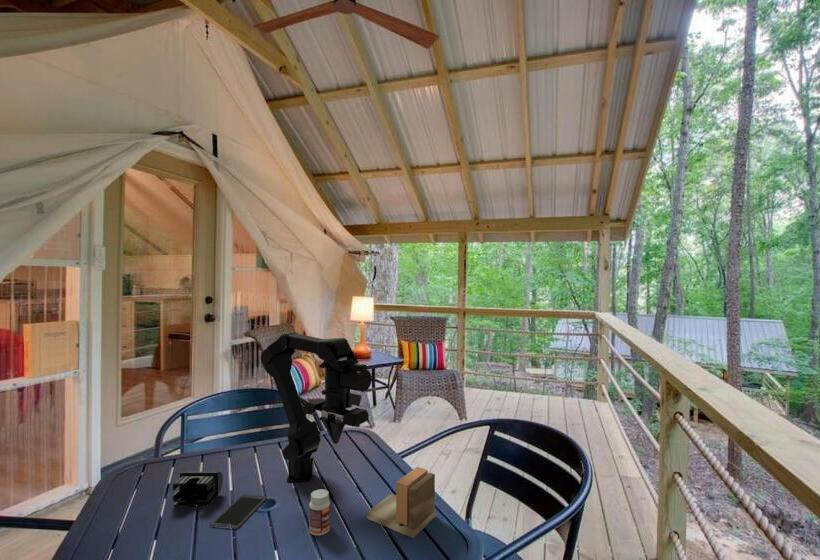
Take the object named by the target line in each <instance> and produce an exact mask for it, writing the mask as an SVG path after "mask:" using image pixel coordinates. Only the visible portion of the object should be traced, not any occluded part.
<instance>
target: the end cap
mask: <svg viewBox="0 0 820 560" xmlns="http://www.w3.org/2000/svg"><path fill="white" fill-rule="evenodd" d="M223 482H224V475H223V473H222V472H221V471H181V472H180V473H179V479H177V480H176V481H175V482H174V483H173V484H172V491H175V490H176V489H177V488H178V490H177V491H176V492H174V494H173V495H172V502H174V503H173V507H174V506H196V505H197V506H207V505H210V504H211V503H212V501H213V500H214V499H215V498H216V497H218V496H219V495H220V493H221V491H222V489H223V484H224V483H223ZM216 499H217V498H216ZM216 499H215V500H216ZM215 500H214V501H215ZM214 501H213V502H214ZM212 504H213V503H212ZM212 504H211V505H212ZM211 505H210V506H211Z"/></svg>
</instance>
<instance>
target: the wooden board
mask: <svg viewBox="0 0 820 560" xmlns="http://www.w3.org/2000/svg"><path fill="white" fill-rule="evenodd" d="M428 473H429V470H428V469H425V468H423V467H419V466H416V467H415V468H413V469H412V470H411V471H409V472H408V473H407V474H405V475H404V476H402V477H401V478H399V479H398V480H396V482H395V487H396V488H395V495H396V521H397V522H399V523H402V524H404V525H408V524H409V488H410V487H412V486H413V485H414V484H415V483H417V482H418V481H419V480H421V479H422V478H423V477H424V476H426V475H427V474H428Z"/></svg>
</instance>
